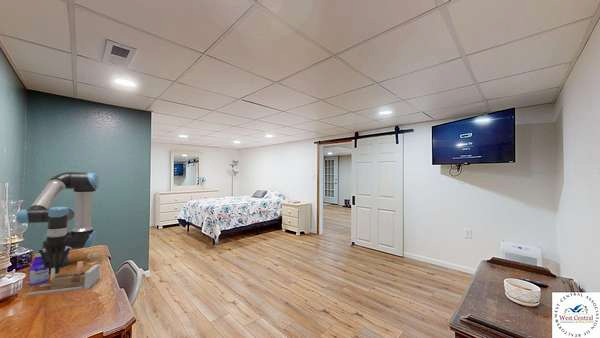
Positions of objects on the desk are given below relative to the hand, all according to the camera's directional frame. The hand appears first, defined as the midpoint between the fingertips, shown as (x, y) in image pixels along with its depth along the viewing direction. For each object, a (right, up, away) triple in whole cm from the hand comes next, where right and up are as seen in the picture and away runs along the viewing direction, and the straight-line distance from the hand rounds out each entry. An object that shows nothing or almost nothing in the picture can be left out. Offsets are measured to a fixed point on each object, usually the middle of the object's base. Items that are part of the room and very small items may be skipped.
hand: (53, 279), depth 125 cm
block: (+7, -5, +3) cm, 9 cm away
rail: (+4, -6, +1) cm, 7 cm away
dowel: (+10, -4, +4) cm, 11 cm away
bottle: (-15, -6, +6) cm, 17 cm away
